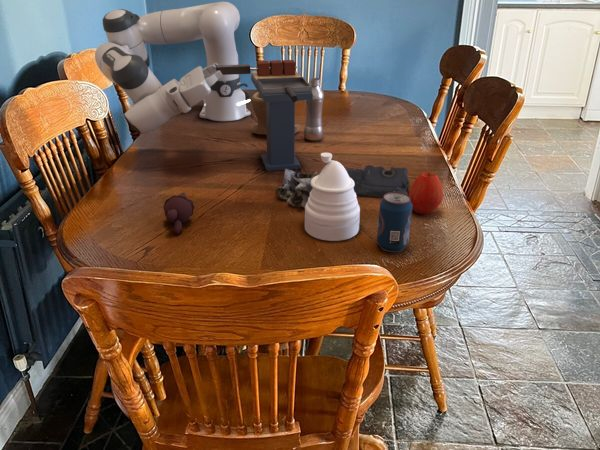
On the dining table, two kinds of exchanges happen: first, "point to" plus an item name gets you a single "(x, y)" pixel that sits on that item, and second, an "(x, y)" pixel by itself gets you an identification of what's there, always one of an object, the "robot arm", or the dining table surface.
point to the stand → (280, 129)
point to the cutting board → (255, 76)
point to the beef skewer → (261, 68)
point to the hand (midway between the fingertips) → (219, 68)
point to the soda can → (394, 221)
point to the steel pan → (284, 86)
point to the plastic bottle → (314, 112)
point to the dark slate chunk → (378, 180)
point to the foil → (296, 188)
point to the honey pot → (332, 204)
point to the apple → (426, 193)
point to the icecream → (178, 210)
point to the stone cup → (262, 115)
